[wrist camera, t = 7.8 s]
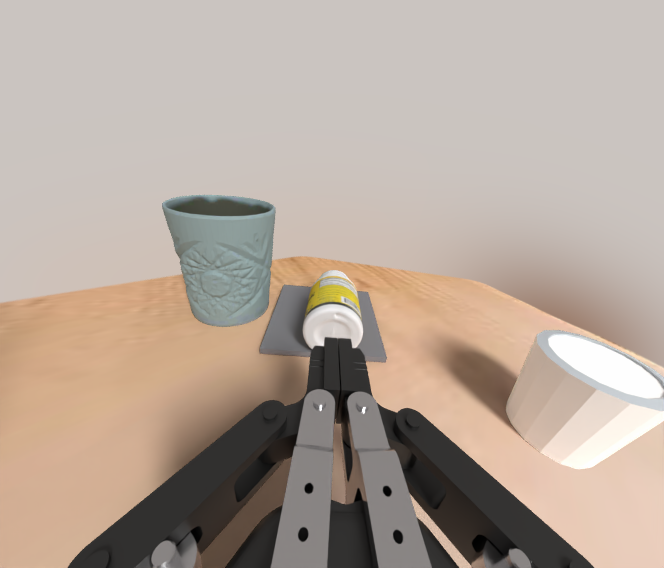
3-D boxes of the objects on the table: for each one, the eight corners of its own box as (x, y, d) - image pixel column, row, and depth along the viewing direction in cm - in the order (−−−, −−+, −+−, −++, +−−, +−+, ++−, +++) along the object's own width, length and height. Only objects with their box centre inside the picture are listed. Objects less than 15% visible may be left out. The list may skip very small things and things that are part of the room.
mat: (385, 362, 23) (386, 357, 23) (260, 353, 23) (259, 348, 22) (367, 295, 35) (367, 292, 35) (283, 288, 34) (283, 284, 34)
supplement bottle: (305, 359, 22) (314, 304, 31) (364, 357, 22) (357, 302, 31) (296, 310, 20) (309, 265, 29) (362, 306, 20) (355, 262, 28)
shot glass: (503, 446, 17) (554, 375, 14) (492, 379, 23) (526, 318, 20) (631, 503, 15) (727, 434, 12) (584, 413, 20) (640, 349, 17)
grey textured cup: (245, 280, 35) (240, 193, 30) (293, 308, 30) (296, 209, 25) (169, 304, 28) (143, 196, 23) (213, 347, 23) (194, 219, 17)
